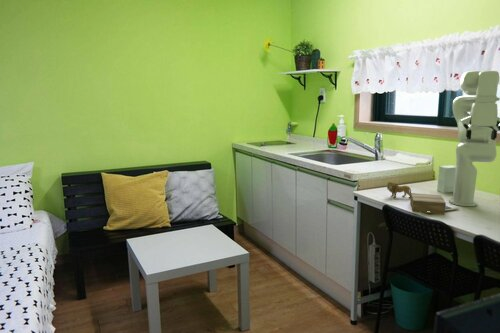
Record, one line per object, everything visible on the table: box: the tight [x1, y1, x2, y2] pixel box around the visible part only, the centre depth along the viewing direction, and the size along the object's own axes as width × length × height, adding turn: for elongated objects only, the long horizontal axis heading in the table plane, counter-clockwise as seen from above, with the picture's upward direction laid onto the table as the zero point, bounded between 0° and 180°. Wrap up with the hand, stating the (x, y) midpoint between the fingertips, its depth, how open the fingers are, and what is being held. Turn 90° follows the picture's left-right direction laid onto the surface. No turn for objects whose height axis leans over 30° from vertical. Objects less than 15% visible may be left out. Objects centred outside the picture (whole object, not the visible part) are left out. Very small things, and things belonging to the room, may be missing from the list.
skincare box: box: [436, 164, 456, 194], centre depth 221 cm, size 8×6×15 cm
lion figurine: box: [386, 181, 412, 199], centre depth 209 cm, size 15×5×9 cm, turn 92°
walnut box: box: [409, 192, 447, 216], centre depth 190 cm, size 14×14×6 cm
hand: (480, 139), depth 171 cm, fingers open, 9 cm apart
